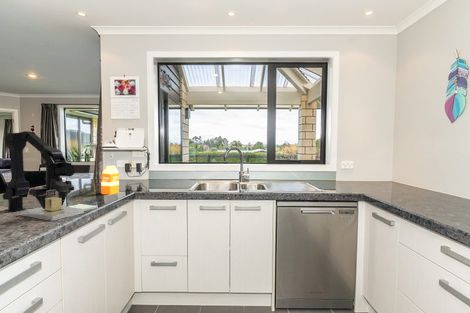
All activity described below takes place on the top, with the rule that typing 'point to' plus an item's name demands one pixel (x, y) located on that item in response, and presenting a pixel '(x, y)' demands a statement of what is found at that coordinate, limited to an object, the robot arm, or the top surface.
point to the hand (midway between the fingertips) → (53, 207)
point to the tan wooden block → (53, 204)
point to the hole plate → (52, 213)
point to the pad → (83, 206)
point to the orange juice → (110, 180)
